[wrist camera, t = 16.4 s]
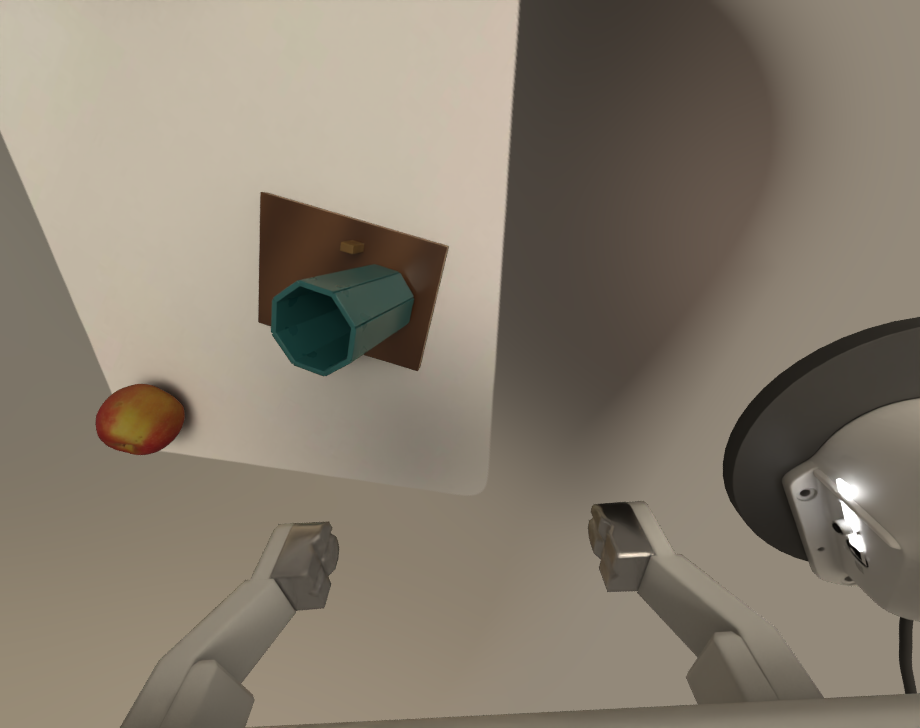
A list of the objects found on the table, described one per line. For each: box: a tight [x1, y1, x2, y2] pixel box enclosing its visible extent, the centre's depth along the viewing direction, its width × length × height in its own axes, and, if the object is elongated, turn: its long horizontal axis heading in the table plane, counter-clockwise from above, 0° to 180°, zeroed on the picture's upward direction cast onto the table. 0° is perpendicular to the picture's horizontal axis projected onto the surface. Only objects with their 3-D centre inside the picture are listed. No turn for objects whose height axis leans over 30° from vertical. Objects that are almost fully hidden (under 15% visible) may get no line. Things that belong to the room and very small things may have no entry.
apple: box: [96, 384, 185, 455], centre depth 41 cm, size 8×8×8 cm
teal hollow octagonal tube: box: [271, 264, 414, 376], centre depth 29 cm, size 6×6×11 cm
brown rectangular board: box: [258, 192, 449, 371], centre depth 34 cm, size 18×13×3 cm
